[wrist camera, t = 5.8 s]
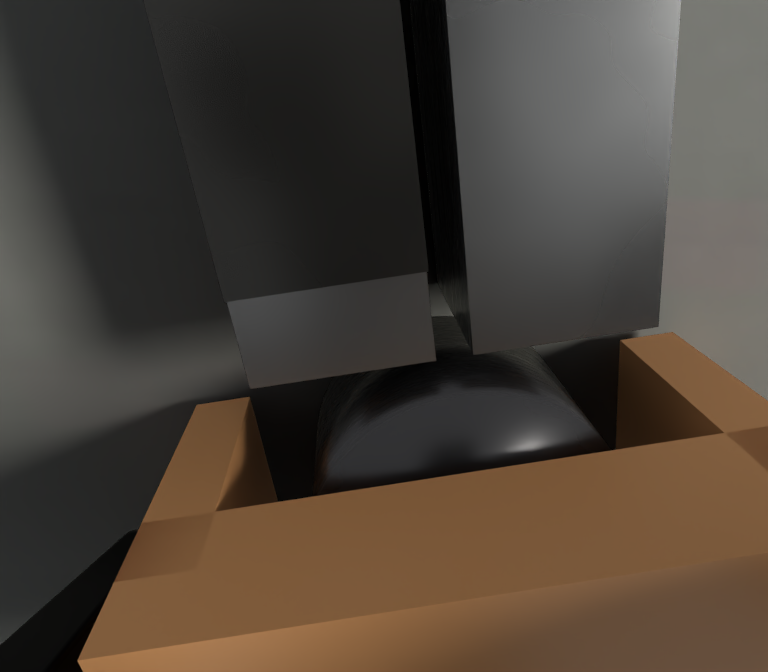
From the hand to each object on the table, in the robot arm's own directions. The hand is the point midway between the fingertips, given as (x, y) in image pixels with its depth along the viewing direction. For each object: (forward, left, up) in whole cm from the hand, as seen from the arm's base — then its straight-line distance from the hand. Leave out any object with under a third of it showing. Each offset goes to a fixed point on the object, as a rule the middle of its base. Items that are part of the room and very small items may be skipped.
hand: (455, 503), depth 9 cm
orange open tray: (0, 0, -1) cm, 1 cm away
